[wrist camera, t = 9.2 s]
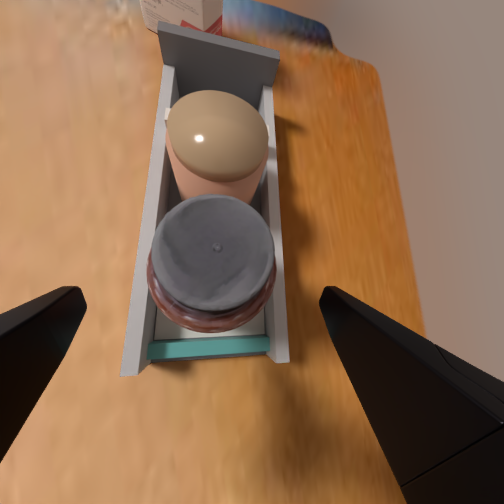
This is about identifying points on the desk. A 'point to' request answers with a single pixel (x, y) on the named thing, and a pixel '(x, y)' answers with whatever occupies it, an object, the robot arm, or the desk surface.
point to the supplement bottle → (211, 264)
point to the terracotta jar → (216, 145)
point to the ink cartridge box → (184, 14)
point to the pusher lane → (167, 197)
